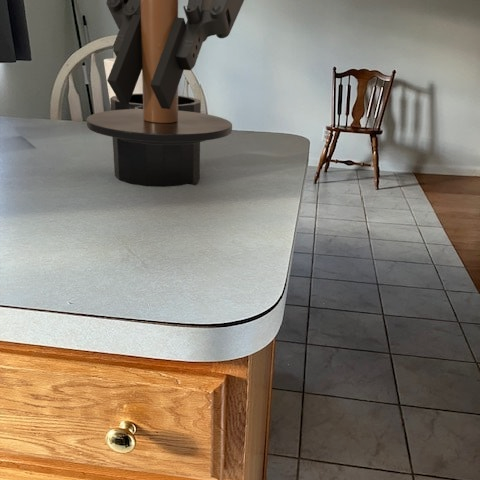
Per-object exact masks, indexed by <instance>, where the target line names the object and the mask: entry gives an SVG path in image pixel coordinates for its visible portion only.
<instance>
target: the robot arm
mask: <svg viewBox="0 0 480 480" xmlns="http://www.w3.org/2000/svg"><path fill="white" fill-rule="evenodd" d="M244 1H245V0H187V5H183V7H182V8H183V10H184V14H185V18H186V19H187V20H185V18H184V17H178V18H176V17H175V19H174V22H173V25H172V27H171V30H170V33H169V35H168V38H167V41H166V44H165V46H164V49H163V52H162V54H161V57H160V60H159V63H158V65H157V68H156V71H155V74H154V76H153V79H152V82H151V84H150V85H151V87H152V89H153V91H154V93H155V96H156V98H157V100H158V102H159V104H160V106H161V108H164V109H170V108H171V105H172V102H173V99H174V96H175V93H176V91H177V88H178V89H179V85H180V82H181V79H182V76H183V74H184V71H192V70H193V68H194V67H195V66H196V63H197V60H198V57H199V54H200V52H201V49H202V46H203V44H204V42H206V41H207V39H208V38H209V37H212V36H216V37H217V38H218V39H224V38H227V37H229V36H230V34H231V31H232V29H233V26H234V25H235V22H236V21H237V18H238V16H239V13H240V11H241V9H242V7H243V4H244ZM106 6H107V8H108V11H109V12H110V14H111V17H112V18H113V21H114V23H115V25H116V26H117V28H118V32H117V36H116V37H115V40H114V42H113V45H112V50H113V53H114V55H115V58H116V59H115V62H114V64H113V67H112V69H111V72H110V75H109V77H108V80H106V82H107V81H108V83H109V84H110V86H111V88H112V90H113V91H114V93H115V95H116V97H117V98H118V100H119V102H120V104H128V105H129V102H130V100H131V97H132V94H133V92H134V89H135V86H136V84H137V81H138V78H139V76H140V73H141V70H142V48H141V11H140V0H106Z"/></svg>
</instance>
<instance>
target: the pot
mask: <svg viewBox="0 0 480 480" xmlns="http://www.w3.org/2000/svg"><path fill="white" fill-rule="evenodd" d="M201 101H202V100H201V99H198V98H195V97H190V96H186V95H185V96H184V95H179V94H178V111H188V112H196V113H202V112H201V109H202V108H201V106H202V105H201V104H202V102H201ZM110 103H111V106H110V111H113V110H126V109H143V94H132V97H131V100H130V102H129V105H128V104H120V102H119V100H118V98H117V97H116V96H112V97H111V98H110V100H109V104H110ZM112 151H113V166H114V167H113V168H114V177H115V178H116V179H117V180H118V181H120V182H123V183H125V184H129V185H134V186H141V187H150V188H151V187H153V188H154V187H156V188H169V187H180V186H185V185H189V186H190V185H191V186H197V185H198V184H199V182H200V180H201V179H200V177H201V176H200V173H201V172H200V169H201V168H200V167H201V142H199V143H193V144H182V145H156V144H143V143H135V142H129V141H125V140H121V139H118V138H115V137H112Z"/></svg>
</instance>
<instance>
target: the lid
mask: <svg viewBox="0 0 480 480" xmlns="http://www.w3.org/2000/svg"><path fill="white" fill-rule="evenodd" d="M140 11H141V48H142V84H143V109H126V110H113V111H111V110H106V111H105V110H104V111H101V112H96V113H93V114H90V115H88V116H87V117H86V127H87V129H89V130H90V131H92V132H94V133H96V134H99V135H102V136H106V137H110V138H113V137H115V138H118V139H121V140H125V141H129V142H135V143H143V144H156V145H182V144H193V143H199V142H200V143H202V142H206V141H212V140H217V139H218V140H219V139H222V138H225V137H227V136H229V135H231V134H232V132H233V123H232V122H231V121H230V120H227V119H226V118H223V117H220V116H217V115H212V114H207V113H203V112H201V113H196V112H188V111H178V95H179V87H178V88H177V91H176V93H175V96H174V99H173V102H172V105H171V108H170V109H164V108H161V106H160V104H159V102H158V100H157V98H156V96H155V93H154V91H153V89H152V87H151V85H150V84H151V82H152V79H153V76H154V74H155V71H156V68H157V65H158V63H159V60H160V57H161V54H162V52H163V49H164V46H165V44H166V41H167V38H168V35H169V33H170V30H171V27H172V25H173V22H174V19H175V17H176V18H179V0H140Z"/></svg>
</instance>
